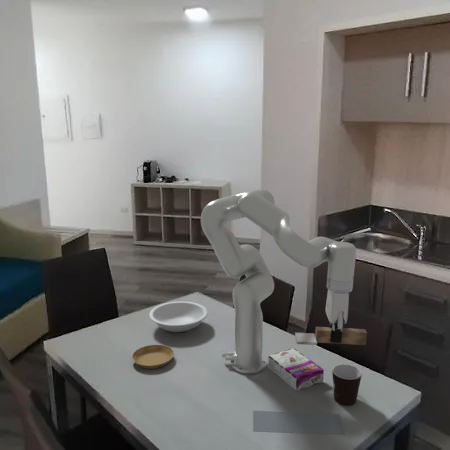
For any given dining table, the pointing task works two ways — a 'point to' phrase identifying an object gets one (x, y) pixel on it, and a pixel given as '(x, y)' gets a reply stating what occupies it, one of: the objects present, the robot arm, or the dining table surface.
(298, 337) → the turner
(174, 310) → the soup bowl
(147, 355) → the plant saucer
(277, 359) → the candy bar box
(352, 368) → the coffee mug
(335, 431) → the mat
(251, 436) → the dining table surface
